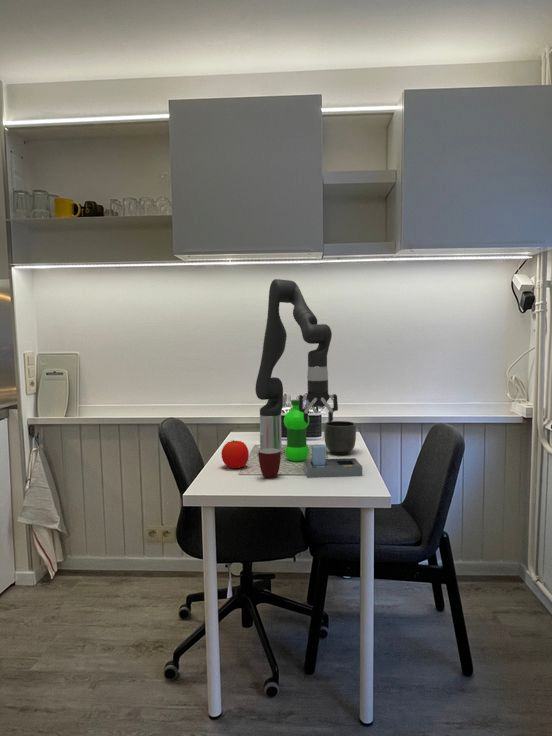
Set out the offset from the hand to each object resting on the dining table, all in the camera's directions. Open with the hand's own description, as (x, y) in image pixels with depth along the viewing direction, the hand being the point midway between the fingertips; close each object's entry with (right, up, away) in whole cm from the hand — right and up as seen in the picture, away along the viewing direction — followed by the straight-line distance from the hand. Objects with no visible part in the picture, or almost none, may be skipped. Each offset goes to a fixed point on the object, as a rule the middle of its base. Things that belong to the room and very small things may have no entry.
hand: (318, 422), depth 183 cm
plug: (0, -19, +1) cm, 19 cm away
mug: (-18, -20, -2) cm, 27 cm away
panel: (+5, -19, +2) cm, 20 cm away
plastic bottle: (-7, -18, +21) cm, 29 cm away
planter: (+12, -17, +33) cm, 39 cm away
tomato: (-32, -19, +12) cm, 39 cm away
